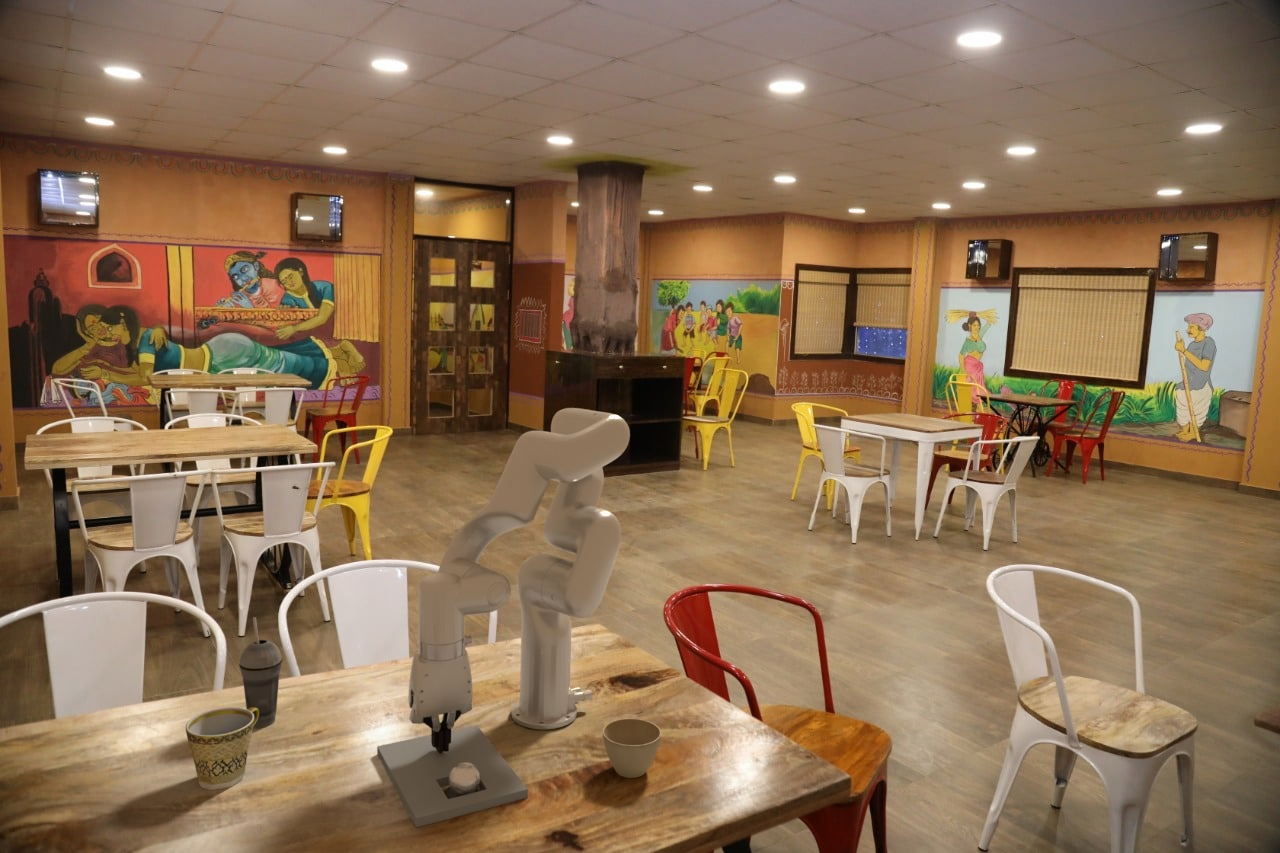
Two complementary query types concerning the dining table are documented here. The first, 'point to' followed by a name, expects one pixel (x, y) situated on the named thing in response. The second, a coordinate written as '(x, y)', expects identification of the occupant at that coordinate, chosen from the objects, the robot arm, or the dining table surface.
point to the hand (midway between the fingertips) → (441, 748)
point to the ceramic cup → (221, 745)
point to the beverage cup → (261, 678)
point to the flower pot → (631, 745)
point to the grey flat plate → (427, 771)
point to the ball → (464, 779)
